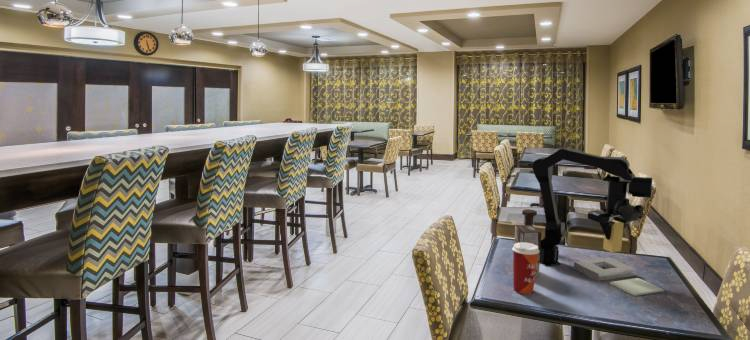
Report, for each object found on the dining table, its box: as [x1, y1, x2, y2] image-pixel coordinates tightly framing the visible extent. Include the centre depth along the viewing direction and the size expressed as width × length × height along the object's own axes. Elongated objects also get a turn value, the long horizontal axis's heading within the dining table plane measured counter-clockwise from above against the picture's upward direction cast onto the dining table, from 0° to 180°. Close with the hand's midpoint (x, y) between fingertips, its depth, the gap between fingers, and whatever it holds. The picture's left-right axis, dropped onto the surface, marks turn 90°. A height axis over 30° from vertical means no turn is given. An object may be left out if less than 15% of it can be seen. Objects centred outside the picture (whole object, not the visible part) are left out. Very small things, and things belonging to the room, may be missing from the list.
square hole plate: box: [573, 257, 637, 282], centre depth 171 cm, size 16×12×2 cm
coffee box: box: [513, 224, 542, 278], centre depth 169 cm, size 9×6×16 cm
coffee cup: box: [511, 242, 540, 295], centre depth 154 cm, size 8×8×15 cm
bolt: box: [521, 208, 537, 227], centre depth 197 cm, size 6×5×15 cm
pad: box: [609, 277, 664, 297], centre depth 158 cm, size 12×10×1 cm
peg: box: [602, 219, 624, 253], centre depth 167 cm, size 4×4×10 cm
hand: (613, 238), depth 167 cm, fingers closed on peg, 4 cm apart
